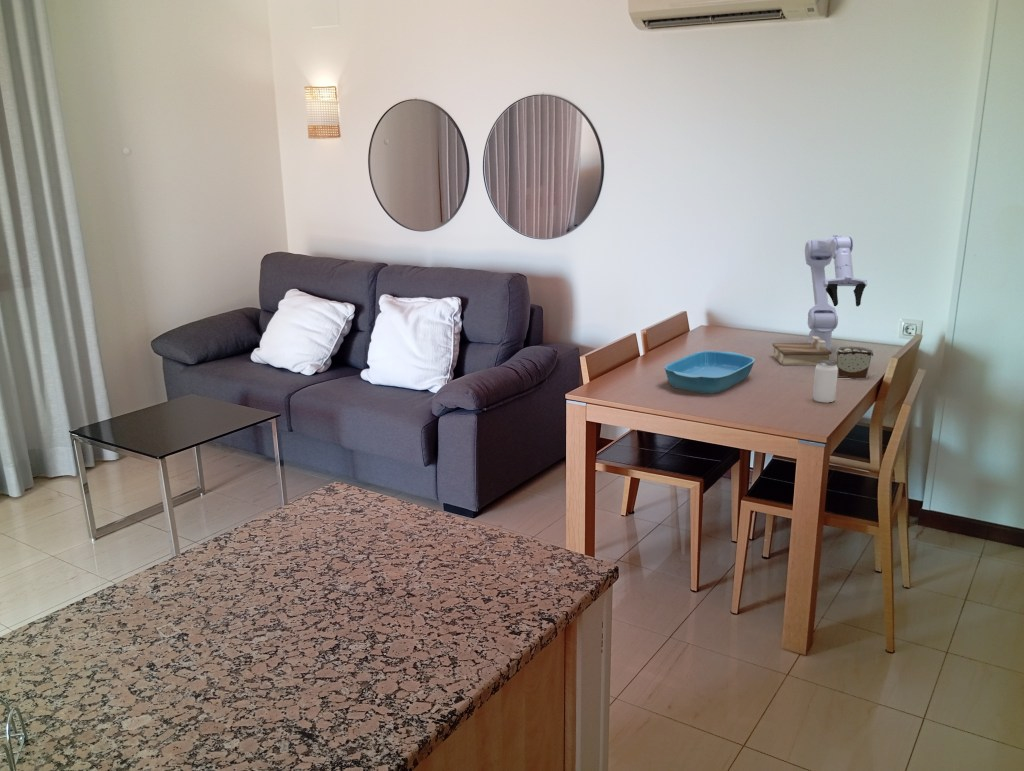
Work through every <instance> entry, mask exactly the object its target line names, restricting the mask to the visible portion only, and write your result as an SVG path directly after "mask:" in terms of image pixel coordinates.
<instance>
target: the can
mask: <svg viewBox="0 0 1024 771" xmlns="http://www.w3.org/2000/svg"><path fill="white" fill-rule="evenodd" d="M817 363H818V364H817V365H815V369H814V378H813V380H814V381H813V389H812V390H813V391H812V400H813V401H815V402H818V403H820V402H822V404H830V403H829V402H832V403H834V402H835V400H836V394H837V393H836V392H837V381H838V378H837V377H838V376H837V374H838V368H837V362H835V361H832V360H829V361H819V362H817ZM833 401H834V402H833Z"/></svg>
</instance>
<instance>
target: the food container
mask: <svg viewBox="0 0 1024 771" xmlns="http://www.w3.org/2000/svg"><path fill="white" fill-rule="evenodd" d="M834 355H835V357H836V363H837V368H838V374H837V377H838V378H852V380H854V379H853V378H858V379H859V380H867V378H868V374H869V370H870V364H871V361H872V357H874V352H873V349H871V348H867V347H861V346H852V345H851V346H848V345H847V346H839V347H837V349H836V351H835V354H834ZM838 378H837V379H838ZM858 379H857V380H858Z"/></svg>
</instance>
